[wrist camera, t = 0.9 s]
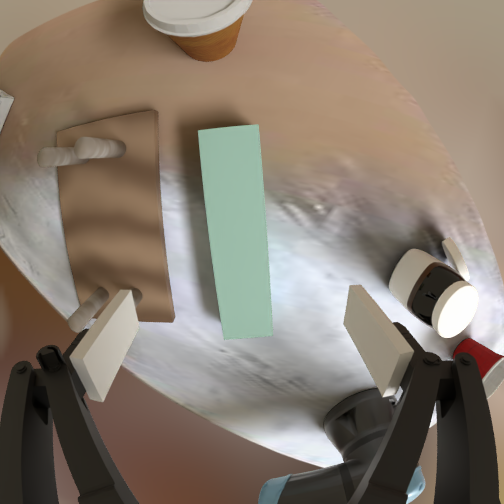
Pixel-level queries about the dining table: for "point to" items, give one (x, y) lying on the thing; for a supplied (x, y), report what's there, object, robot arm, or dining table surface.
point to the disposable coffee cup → (198, 24)
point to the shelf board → (237, 228)
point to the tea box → (4, 106)
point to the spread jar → (435, 289)
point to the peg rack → (113, 215)
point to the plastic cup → (485, 364)
